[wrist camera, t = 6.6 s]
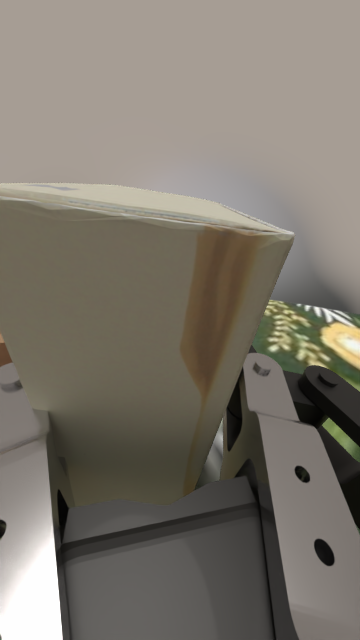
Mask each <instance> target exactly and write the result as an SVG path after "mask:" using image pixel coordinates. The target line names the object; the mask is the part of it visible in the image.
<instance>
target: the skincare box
mask: <svg viewBox="0 0 360 640" xmlns="http://www.w3.org/2000/svg"><path fill="white" fill-rule="evenodd" d="M294 237H295V234H294V233H293V232H291V231H287V230H283V229H280V228H277V227H276V226H274V225H271V224H269V223H265V222H264V221H261V220H259V219H257V218H254V217H252V216H249V215H246V214H245V213H241V212H239V211H237V210H234V209H231V208H230V207H226V206H224V205H222V204H220V203H217V202H212V201H208V200H204V199H199V198H193V197H189V196H182V195H176V194H170V193H163V192H157V191H151V190H145V189H138V188H132V187H125V186H117V185H111V184H74V183H55V184H51V183H49V184H48V183H0V332H1V335H2V337H3V340H4V342H5V345H6V347H7V350H8V352H9V355H10V357H11V359H12V362H13V364H14V366H15V368H16V370H17V373H18V376H19V380H20V382H21V384H22V386H23V388H24V391H25V393H26V395H27V398H28V400H29V403H30V405H31V407H32V408H34V409H38V410H46V411H48V413H49V415H50V418H51V421H52V425H53V434H54V442H55V447H56V452H57V455H58V456H59V457H65V460H66V463H67V466H68V473H69V479H70V484H71V489H72V493H73V497H74V502H75V507H78V506H84V505H89V504H95V503H100V502H106V501H111V500H117V499H122V500H129V501H136V502H143V503H150V504H157V505H170V504H172V503H174V502H176V501H177V500H179V499H181V498H183V497H184V496H186V495H188V494H190V493H192V492H193V491H194V489H195V486H196V484H197V481H198V479H199V477H200V474H201V471H202V469H203V467H204V464H205V462H206V459H207V456H208V454H209V451H210V448H211V446H212V443H213V441H214V438H215V436H216V433H217V431H218V428H219V425H220V423H221V421H222V418H223V416H224V413H225V410H226V408H227V405H228V402H229V400H230V397H231V395H232V392H233V390H234V387H235V385H236V382H237V380H238V377H239V375H240V372H241V370H242V367H243V365H244V362H245V360H246V357H247V355H248V352H249V349H250V347H251V344H252V342H253V339H254V337H255V335H256V332H257V329H258V326H259V324H260V321H261V319H262V317H263V314H264V312H265V309H266V307H267V304H268V302H269V299H270V297H271V294H272V292H273V289H274V287H275V284H276V282H277V279H278V277H279V274H280V272H281V269H282V267H283V265H284V262H285V260H286V258H287V256H288V253H289V251H290V249H291V246H292V244H293V240H294Z"/></svg>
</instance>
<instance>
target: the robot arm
mask: <svg viewBox="0 0 360 640" xmlns="http://www.w3.org/2000/svg"><path fill="white" fill-rule="evenodd" d="M328 418H330V419H331V420H332V421H333V422H334V423H335V424H336V425H338V426H339V427H340V428H341V429H342V430H343V431H344V432H345V433H346V434H347V435H348V436H349V437H350V438H351V439H352V440H353V441H354V442H355V443H356V444H357V445H358V446H359V447H360V392H359V391H358V390H357V389H355V388H354V387H353V386H352V385H350V384H349V383H348V382H346V381H345V380H344V379H343V378H341V377H340V376H339V375H337V374H336V373H334V372H333V371H331V370H329V369H327V368H324V367H321V366H316V365H312V366H309V367H307V368H306V369H305V371H304V372H303V374H297V373H293V372H288V371H283V370H282V369H281V367H280V366H279V364H278V363H277V362H276V361H274V360H273V359H271V358H270V357H268V356H266V355H263V354H260V353H257V352H256V351H255V349H254V348H253V346H252V345H251V347H250V349H249V352H248V355H247V357H246V360H245V362H244V365H243V367H242V370H241V372H240V375H239V377H238V380H237V382H236V385H235V387H234V390H233V392H232V395H231V397H230V400H229V402H228V405H227V408H226V410H225V413H224V416H223V462H222V466H221V471H220V481H216V482H210V483H207V484H206V485H204V486H202V487H200V488H199V489H197V490H195V491H193V492H192V493H190V494H188V495H186V496H184V497H183V498H181V499H179V500H177V501H176V502H174V503H172V504H170V505H157V504H150V503H143V502H136V501H129V500H122V499H117V500H111V501H106V502H100V503H95V504H89V505H84V506H78V507H75V502H74V497H73V493H72V489H71V484H70V479H69V473H68V466H67V463H66V460H65V457H59V456H58V455H57V452H56V447H55V442H54V434H53V425H52V421H51V418H50V415H49V413H48V411H46V410H38V409H34V408H32V407H31V405H30V403H29V400H28V398H27V395H26V393H25V391H24V388H23V386H22V384H21V382H20V380H19V376H18V373H17V370H16V368H15V366H14V364H13V362H12V363H9V364H6V365H3V366H1V367H0V640H360V535H359V533H358V530H357V528H356V525H357V527H358V528H359V529H360V463H359V462H358V461H356V460H355V459H354V458H353V457H352V456H351V455H350V454H349V453H348V452H347V451H346V450H345V449H344V448H343V447H342V446H341V445H340V444H339V443H338V442H337V441H336V440H335V439H334V438H333V437H332V436H331V435H330V434H329V432H328V431H327V430H326V429H325V428H324V427H323V426H322V424H323V423H324V422H325V421H326V420H327V419H328ZM355 524H356V525H355Z"/></svg>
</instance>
